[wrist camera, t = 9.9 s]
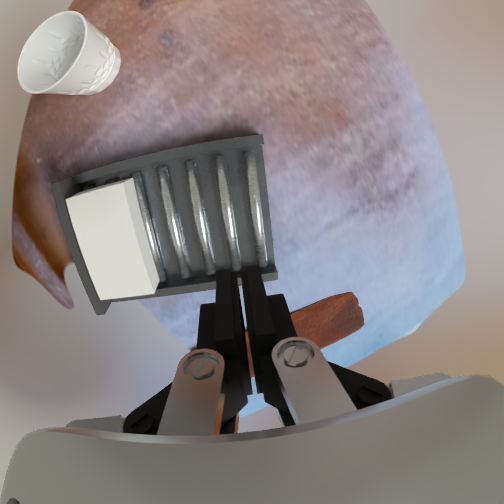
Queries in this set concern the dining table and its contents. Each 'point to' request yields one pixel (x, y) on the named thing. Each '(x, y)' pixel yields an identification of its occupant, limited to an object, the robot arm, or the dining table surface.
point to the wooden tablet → (324, 321)
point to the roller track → (188, 213)
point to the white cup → (67, 57)
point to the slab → (114, 240)
